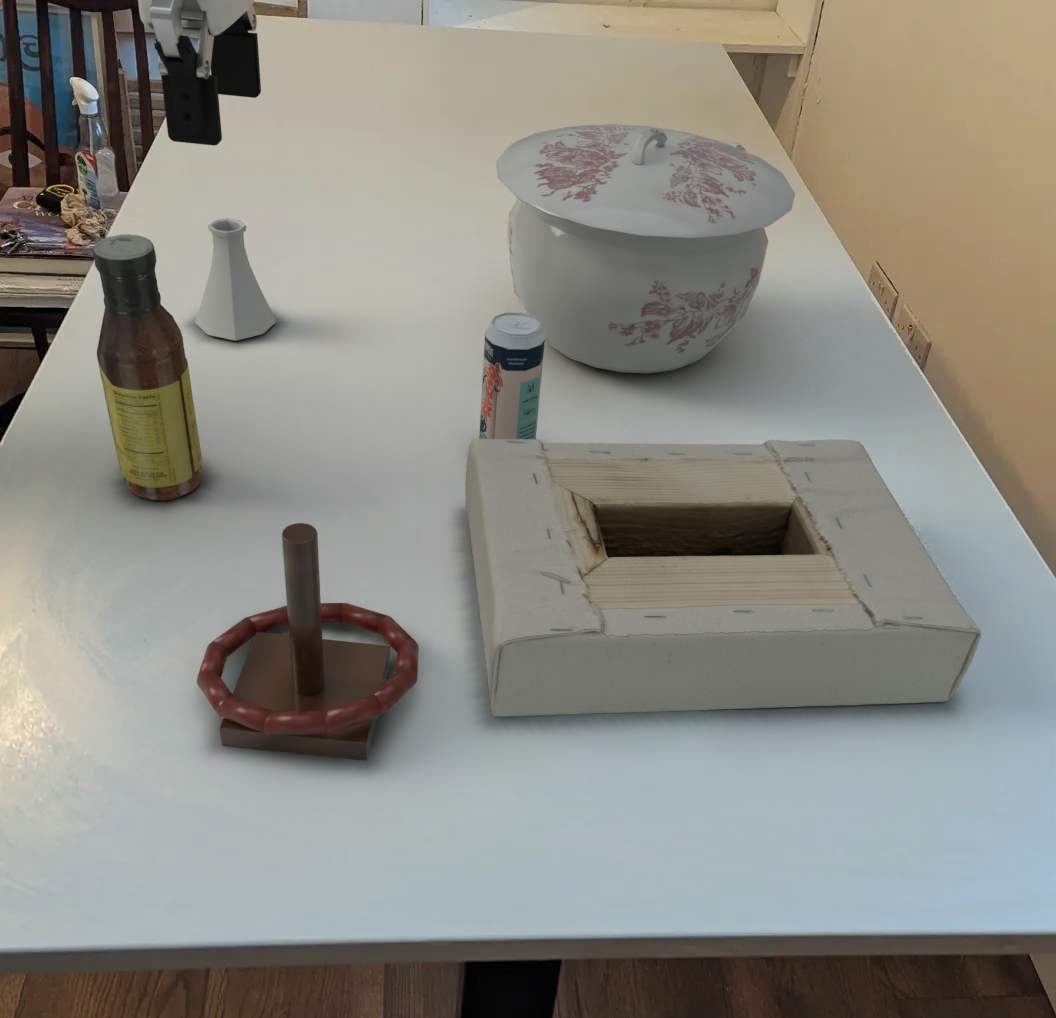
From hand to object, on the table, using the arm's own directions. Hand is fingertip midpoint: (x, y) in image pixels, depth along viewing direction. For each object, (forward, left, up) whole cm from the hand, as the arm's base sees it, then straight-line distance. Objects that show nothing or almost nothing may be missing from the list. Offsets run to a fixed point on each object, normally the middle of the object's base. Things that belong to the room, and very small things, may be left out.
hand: (217, 117), depth 77 cm
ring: (+10, -22, -26) cm, 36 cm away
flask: (-8, +26, -28) cm, 39 cm away
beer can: (+20, +8, -28) cm, 36 cm away
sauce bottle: (-6, -2, -28) cm, 29 cm away
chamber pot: (+30, +31, -28) cm, 52 cm away
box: (+35, -10, -28) cm, 46 cm away
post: (+10, -24, -28) cm, 38 cm away
